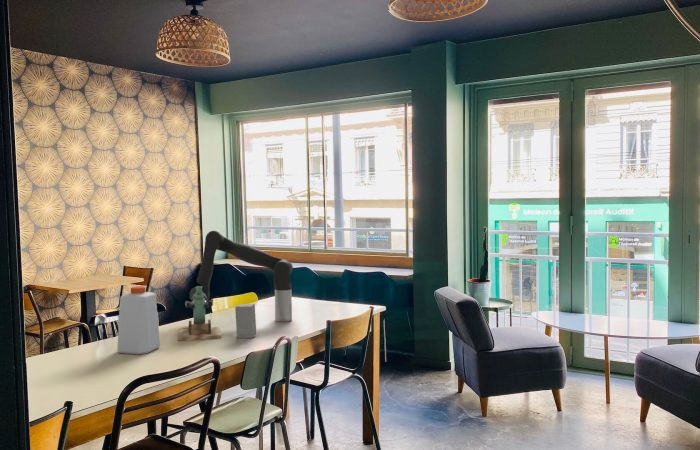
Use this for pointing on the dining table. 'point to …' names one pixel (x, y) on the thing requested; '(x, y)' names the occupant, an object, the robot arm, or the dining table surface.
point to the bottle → (199, 306)
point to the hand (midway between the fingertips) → (199, 306)
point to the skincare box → (245, 320)
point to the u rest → (199, 332)
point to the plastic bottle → (138, 322)
